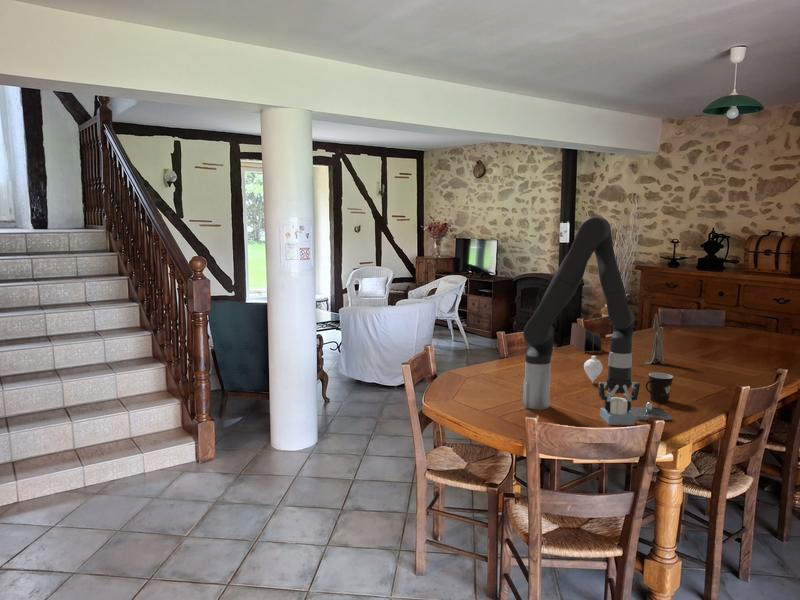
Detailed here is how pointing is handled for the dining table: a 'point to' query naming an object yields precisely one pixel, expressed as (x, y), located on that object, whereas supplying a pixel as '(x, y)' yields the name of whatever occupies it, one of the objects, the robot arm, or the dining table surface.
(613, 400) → the collar ring
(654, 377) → the coffee mug
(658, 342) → the wizard figurine
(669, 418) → the hub
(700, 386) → the dining table surface
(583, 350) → the letter holder
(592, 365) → the spinning top
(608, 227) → the robot arm
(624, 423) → the stand block
